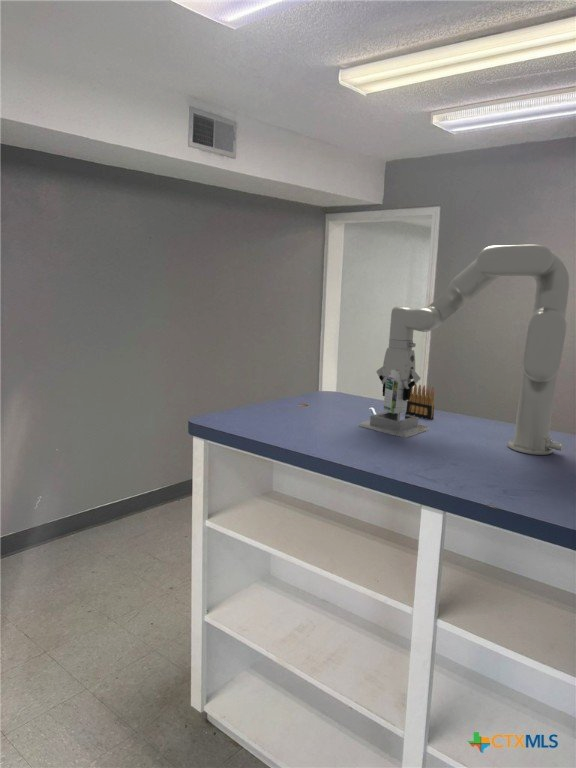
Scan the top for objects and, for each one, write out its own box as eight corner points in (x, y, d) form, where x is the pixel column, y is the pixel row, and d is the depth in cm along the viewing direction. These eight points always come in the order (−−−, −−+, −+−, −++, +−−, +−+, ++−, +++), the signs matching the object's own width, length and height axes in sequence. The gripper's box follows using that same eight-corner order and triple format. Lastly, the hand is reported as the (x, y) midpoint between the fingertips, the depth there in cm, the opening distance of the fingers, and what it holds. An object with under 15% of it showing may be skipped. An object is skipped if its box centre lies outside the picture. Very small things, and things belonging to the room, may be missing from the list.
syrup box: (382, 409, 180) (385, 367, 177) (396, 408, 182) (400, 367, 179) (392, 413, 175) (396, 370, 172) (407, 412, 177) (411, 369, 174)
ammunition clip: (433, 419, 194) (436, 386, 192) (430, 419, 193) (433, 387, 191) (408, 413, 202) (410, 382, 199) (405, 414, 200) (408, 382, 198)
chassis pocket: (428, 429, 179) (429, 418, 178) (405, 438, 168) (406, 425, 167) (383, 419, 191) (384, 408, 190) (358, 426, 180) (359, 414, 179)
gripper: (430, 347, 171) (424, 401, 174) (384, 341, 183) (380, 392, 186) (418, 348, 166) (413, 404, 169) (371, 342, 177) (367, 394, 181)
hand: (395, 397), depth 178 cm, fingers closed on syrup box, 7 cm apart
